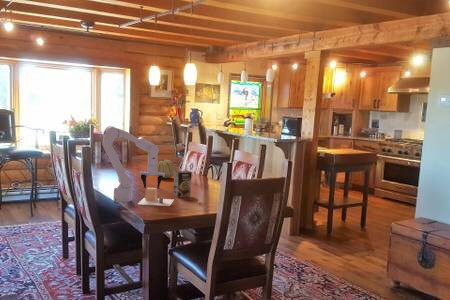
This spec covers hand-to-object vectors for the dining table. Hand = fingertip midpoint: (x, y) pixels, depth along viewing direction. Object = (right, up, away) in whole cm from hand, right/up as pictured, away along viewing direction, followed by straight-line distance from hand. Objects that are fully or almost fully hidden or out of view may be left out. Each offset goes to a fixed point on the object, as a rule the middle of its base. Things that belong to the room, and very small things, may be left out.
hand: (151, 188), depth 248 cm
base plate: (+3, -9, -4) cm, 10 cm away
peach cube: (0, -7, +1) cm, 7 cm away
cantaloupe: (-4, 0, +81) cm, 82 cm away
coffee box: (+16, -7, +16) cm, 24 cm away
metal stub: (+6, -8, -6) cm, 12 cm away
